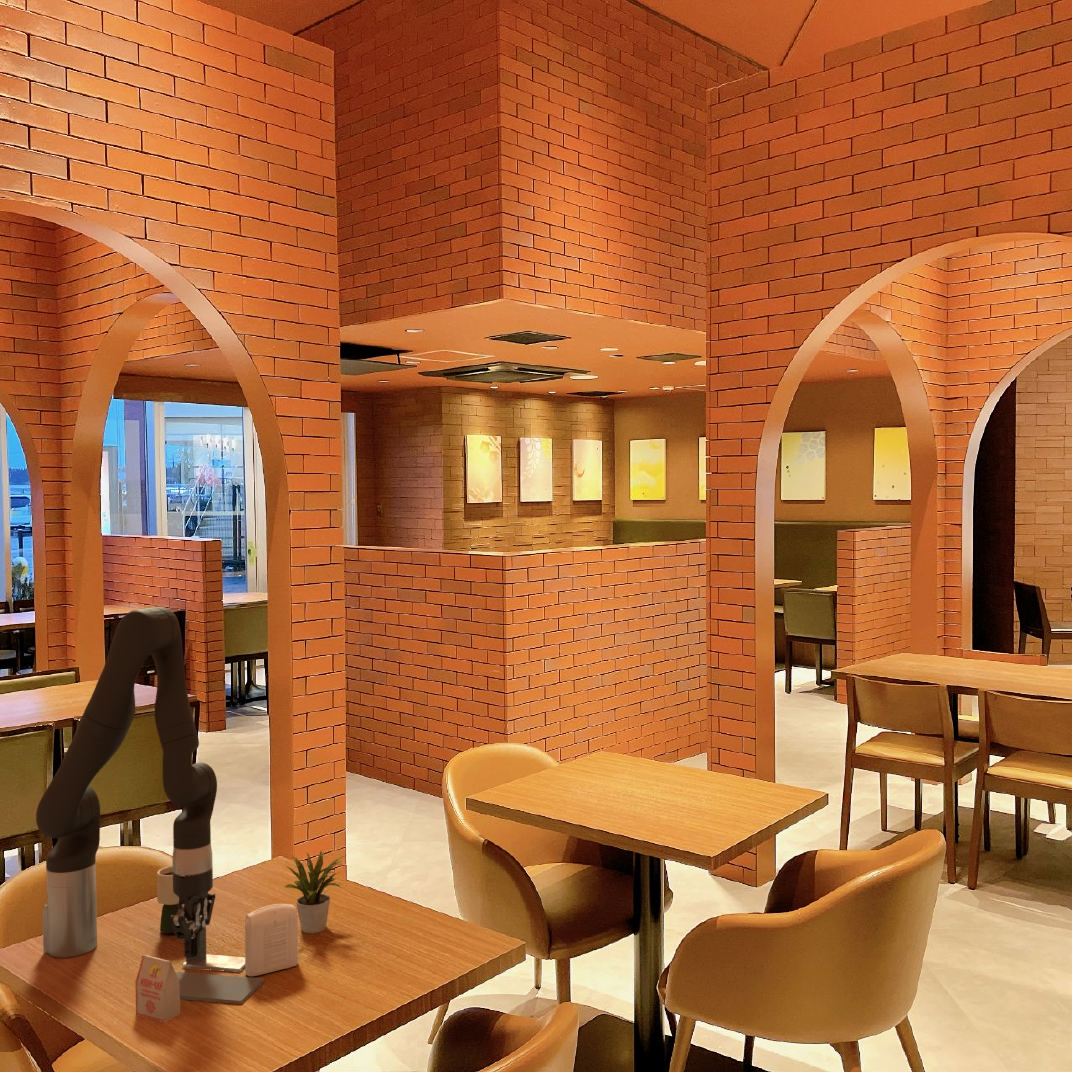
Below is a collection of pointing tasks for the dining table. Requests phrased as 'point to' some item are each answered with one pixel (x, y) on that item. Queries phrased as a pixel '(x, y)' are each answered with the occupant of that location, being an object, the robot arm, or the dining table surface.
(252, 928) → the photo printer
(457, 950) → the dining table surface
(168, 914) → the character mug
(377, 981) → the dining table surface
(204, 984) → the mat
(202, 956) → the grey l-shaped piece
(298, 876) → the house plant
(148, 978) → the tea bag
